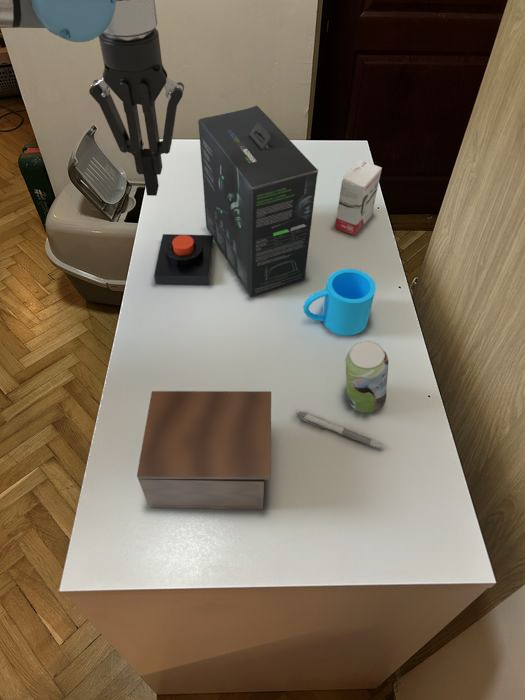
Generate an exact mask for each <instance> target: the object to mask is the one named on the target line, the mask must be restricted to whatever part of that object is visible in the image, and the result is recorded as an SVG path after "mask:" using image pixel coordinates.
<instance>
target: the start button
mask: <svg viewBox="0 0 525 700" xmlns="http://www.w3.org/2000/svg"><path fill="white" fill-rule="evenodd" d="M179 235H180V236H177V237H175V238H174V239H173V241H172V245H173V251H174V253H175V254H177V255H188V254H191V253H193V251H194V240H193V238H192V237H190V236H187V235H188V234H179Z"/></svg>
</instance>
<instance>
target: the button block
mask: <svg viewBox="0 0 525 700" xmlns="http://www.w3.org/2000/svg"><path fill="white" fill-rule="evenodd" d="M180 235H181V234H175V233H174V234H173V233H172V234H171V233H170V234H169V233H168V234H167V233H163V234H162V235H161V241H160V246H159V250H158V254H157V255H158V256H157V261H156V264H155V265H156V266H155V270H154V275H153V276H154V282H155V285H174V286H178V285H179V286H210V280H211V279H210V278H211V270H212V262H213V255H214V254H213V252H214V245H215V241H214V239H213V235H211V234H186V235H187V236H190V237H192V238H193V240H194V251H193V253H191V254H188V255H177V254H175V253H174V251H173V245H172V241H173V239H174V238H175V237H177V236H180Z"/></svg>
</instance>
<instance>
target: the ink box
mask: <svg viewBox="0 0 525 700" xmlns="http://www.w3.org/2000/svg"><path fill="white" fill-rule="evenodd" d="M382 169H383V167H381V166H379V165H376V164H373V163H371V162H368V161H366V160H362V159H360V160H358V161H357V162H356V163H355V164H354V166H352V167H351V168H350V169H349V170H348V171H347V173H346V174H345V175H344V176H342V177H343V178H342V180H341V185H340V193H339V197H338V198H339V199H338V205H337V213H336V218H335V224H334V229H336V230H339V231H341V232H343V233H346V234H348V235H351V236H356V235H357V233H358V232H359V231H360V230H361V229H362V228H363V226H364V225H365V224H366V223H367V222H368V221H369V220H370V218H371V217H372V216H373V211H374V207H375V203H376V199H377V198H376V197H377V193H378V188H379V182H380V178H381V174H382Z"/></svg>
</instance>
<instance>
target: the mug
mask: <svg viewBox="0 0 525 700" xmlns="http://www.w3.org/2000/svg"><path fill="white" fill-rule="evenodd" d="M376 290H377V287H376V282H375V280H374V279H373V277H372V276H370V275H369V274H367V272H364V271H362V270H359V269H355V268H343V269H339V270H336V271H334V272H332V273H331V274H330V275H329V276H328V278H327V281H326V287H325V289H322V290H319V291H316V292H314V293H313V294H312V295H309V297H308V298H307V299H305V301H304V303H303V306H302V309H303V314H304V315H306V317H307V318H308V319H311V320H314V321H322V323H323V324H324V326H325V327H326V328H327V329H328V330H329V331H330V332H332V333H334V334H336V335H339V336H342V337H343V336H351V337H352V336H355V335H358V334H360V333H362V332H363V331H364V330H365V329H366V328H367V325H368V322H369V318H370V314H371V310H372V305H373V301H374V298H375V294H376ZM323 297H324V300H323V306H322V311H321V312H322V313H321V314H318V313H313V312H311V311H310V309H309V308H310V306H311V305H312V304H313V303H314V302H315V301H316V300H318V299H320V298H323Z"/></svg>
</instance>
